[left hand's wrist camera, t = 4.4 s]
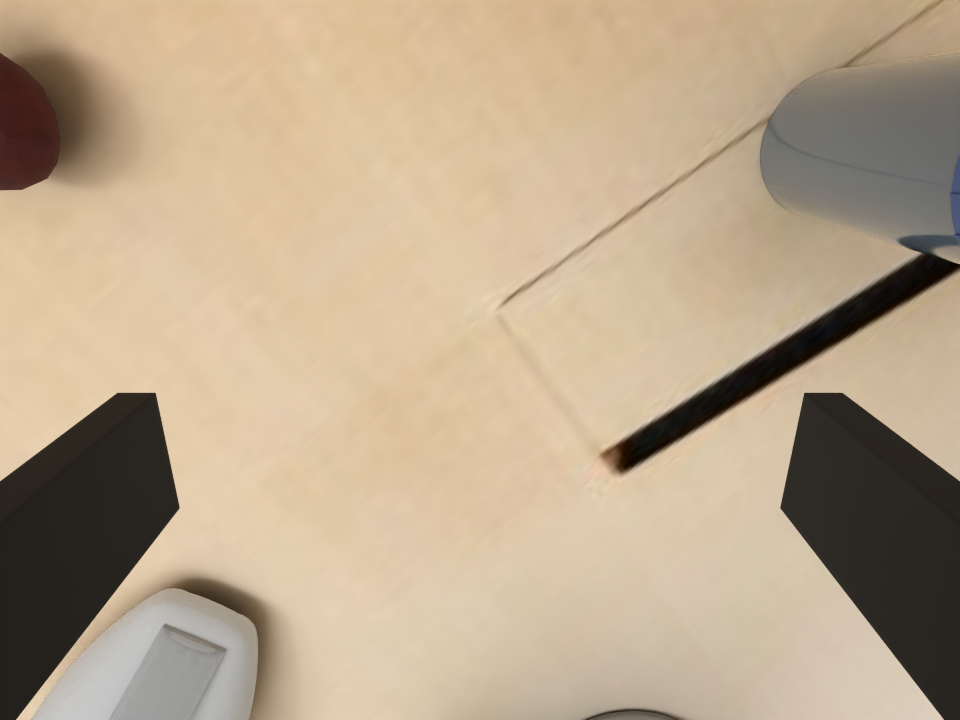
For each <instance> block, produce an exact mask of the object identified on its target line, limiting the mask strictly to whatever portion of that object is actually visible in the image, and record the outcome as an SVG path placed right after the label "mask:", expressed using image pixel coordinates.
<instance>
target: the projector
mask: <svg viewBox="0 0 960 720" xmlns="http://www.w3.org/2000/svg"><path fill="white" fill-rule="evenodd" d="M257 666H258V637H257V631H256V628H255V626H254V624H253V623H252V621H251V620H249V619H248V618H247V617H245V616H244V615H241V614H238V613H237V612H235V611H233V610H231V609H229V608H227V607H225V606H223V605H221V604H218V603H216V602H214V601H211V600H209V599H206V598H204V597H201V596H199V595H195V594H192V593H189V592H187V591H185V590H182V589H177V588H168V589H164V590H162V591H159V592H157V593H155V594H153V595H152V596H150V597H149V598H147V599H145V600H144V601H142V602H141V603H139V604H138V605H137V606H135V607H134V608H133V609H131V610H130V611H129V612H127V613H126V614H125V615H123V616H122V617H121V618H119V619H118V620H117V621H116V622H115V623H114V624H112V625H111V626H110V627H109V628H108V629H107V630H105V631H104V632H103V633H102V634H101V635H100V636H99V637H98V638H97V639H96V640H95V641H94V642H92V643H91V644H90V645H89V646H88V648H87V649H86V650H85V651H84V652H83V653H82V654H81V655H80V656H79V657H78V658H77V659H76V660H75V661H74V662H73V664H72V665H71V666H70V667H69V668H68V669H67V671H66V672H65V673H64V674H63V675H62V677H61V678H60V679H59V680H58V682H57V683H56V684H55V686H54V687H53V688H52V690H51V691H50V692H49V694H48V695H47V696H46V698H45V699H44V701H43V702H42V704H41V705H40V706H39V708H38V709H37V711H36V712H35V714H34V716H33V717H32V719H31V720H249V718H250V714H251V710H252V705H253V699H254V694H255V686H256V678H257Z"/></svg>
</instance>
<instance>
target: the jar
mask: <svg viewBox="0 0 960 720" xmlns="http://www.w3.org/2000/svg"><path fill="white" fill-rule="evenodd" d="M959 153H960V51H955V52H948V53H942V54H935V55H928V56H921V57H914V58H907V59H900V60H893V61H886V62H879V63H872V64H865V65H858V66H851V67H844V68H837V69H832V70H828V71H824V72H822V73H819V74H817V75H815V76H813V77H811V78H809V79H807V80H805V81H804V82H803V83H801V84H800V85H798V86H797V87H796V88H795V89H793V90H792V91H791V92H790V93H789V94H788V95H787V96H786V97H785V98H784V100H783V101H782V102H781V103H780V104H779V106H778V107H777V109H776V110H775V111H774V113H773V115H772V117H771V119H770V120H769V122H768V125H767V127H766V130H765V132H764V136H763V139H762V145H761V151H760V165H761V172H762V176H763V180H764V182H765V185H766V187H767V189H768V191H769V193H770V194H771V196H772V197H773V198H774V199H775V201H776V202H777V203H778V204H779V205H781V206H782V207H783V208H785V209H786V210H788V211H789V212H791V213H793V214H796V215H798V216H802V217H805V218H808V219H812V220H815V221H818V222H822V223H825V224H828V225H832V226H835V227H838V228H842V229H845V230H848V231H852V232H855V233H858V234H862V235H865V236H868V237H871V238H875V239H878V240H881V241H885V242H888V243H891V244H895V245H898V246H901V247H905V248H908V249H911V250H915V251H918V252H921V253H925V254H928V255H931V256H935V257H938V258H941V259H945V260H948V261H951V262H955V263H958V264H960V245H959V243H958V241H957V238H955V237H954V235H955V231H954V228H953V223H952V215H951V204H950V202H951V196H949V194H950V193H951V188H952V181H953V174H954V170H955V167H956V163H957V160H958V156H959Z"/></svg>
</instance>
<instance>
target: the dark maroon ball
mask: <svg viewBox="0 0 960 720" xmlns="http://www.w3.org/2000/svg"><path fill="white" fill-rule="evenodd" d="M59 148H60V137H59V132H58V126H57V121H56V115H55V112H54V110H53V108H52V106H51V104H50V102H49V100H48V98H47V96H46V94H45V92H44V90H43V88H42V86H41V85H40V84H39V83H38V82H37V81H36V80H35V79H34V78H33V77H32V76H31V75H30V74H29V73H28V72H27V71H26V70H25V69H23V68H22V67H20V66H19V65H17V64H16V63H14V62H13V61H11V60H10V59H8V58H7V57H5V56H4V55H2V54H1V53H0V190H22V189H25V188H27V187H29V186H32V185H34V184H36V183H38V182H41V181H43V180H45V179H47V178H48V177H49V175H50V173H51V172H52V170H53V169H54V167H55V166H56V164H57V161H58V155H59Z"/></svg>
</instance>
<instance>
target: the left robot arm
mask: <svg viewBox="0 0 960 720" xmlns="http://www.w3.org/2000/svg"><path fill="white" fill-rule="evenodd" d="M179 508H180V507H179V503H178V498H177V493H176V488H175V484H174V479H173V474H172V469H171V464H170V460H169V455H168V450H167V445H166V440H165V436H164V431H163V426H162V421H161V417H160V412H159V407H158V402H157V397H156V393H117V394H116V395H114V396H113V397H112V398H110V399H109V400H108V401H106V402H105V403H104V404H102V405H101V406H100V407H98V408H97V409H96V410H94V411H93V412H92V413H90V414H89V415H88V416H86V417H85V418H84V419H82V420H81V421H80V422H78V423H77V424H76V425H74V426H73V427H72V428H70V429H69V430H68V431H66V432H65V433H64V434H63V435H61V436H60V437H59V438H57V439H56V440H55V441H53V442H52V443H51V444H49V445H48V446H47V447H45V448H44V449H43V450H41V451H40V452H39V453H37V454H36V455H35V456H33V457H32V458H31V459H29V460H28V461H27V462H25V463H24V464H23V465H21V466H20V467H19V468H17V469H16V470H15V471H13V472H12V473H11V474H9V475H8V476H7V477H5V478H4V479H3V480H1V481H0V720H16V719H17V718H18V716H19V715H20V714H21V712H22V711H23V710H24V709H25V707H26V706H27V705H28V703H29V702H30V701H31V700H32V698H33V697H34V696H35V694H36V693H37V692H38V690H39V689H40V688H41V687H42V685H43V684H44V683H45V681H46V680H47V679H48V678H49V676H50V675H51V674H52V672H53V671H54V670H55V668H56V667H57V666H58V665H59V663H60V662H61V661H62V659H63V658H64V657H65V656H66V654H67V653H68V652H69V650H70V649H71V648H72V647H73V645H74V644H75V643H76V641H77V640H78V639H79V637H80V636H81V635H82V634H83V632H84V631H85V630H86V628H87V627H88V626H89V625H90V623H91V622H92V621H93V619H94V618H95V617H96V616H97V614H98V613H99V612H100V610H101V609H102V608H103V606H104V605H105V604H106V603H107V601H108V600H109V599H110V597H111V596H112V595H113V594H114V592H115V591H116V590H117V588H118V587H119V586H120V584H121V583H122V582H123V581H124V579H125V578H126V577H127V575H128V574H129V573H130V572H131V570H132V569H133V568H134V566H135V565H136V564H137V563H138V561H139V560H140V559H141V557H142V556H143V555H144V553H145V552H146V551H147V550H148V548H149V547H150V546H151V544H152V543H153V542H154V541H155V539H156V538H157V537H158V535H159V534H160V533H161V531H162V530H163V529H164V528H165V526H166V525H167V524H168V522H169V521H170V520H171V519H172V517H173V516H174V515H175V513H176V512H177V511H178V510H179ZM780 508H781V510H782V511H783V512H784V513H785V515H786V516H787V517H788V519H789V520H790V521H791V522H792V524H793V525H794V526H795V528H796V529H797V530H798V531H799V533H800V534H801V535H802V537H803V538H804V539H805V541H806V542H807V543H808V544H809V546H810V547H811V548H812V550H813V551H814V552H815V553H816V555H817V556H818V557H819V559H820V560H821V561H822V563H823V564H824V565H825V566H826V568H827V569H828V570H829V572H830V573H831V574H832V575H833V577H834V578H835V579H836V581H837V582H838V583H839V584H840V586H841V587H842V588H843V590H844V591H845V592H846V594H847V595H848V596H849V597H850V599H851V600H852V601H853V603H854V604H855V605H856V606H857V608H858V609H859V610H860V612H861V613H862V614H863V616H864V617H865V618H866V619H867V621H868V622H869V623H870V625H871V626H872V627H873V628H874V630H875V631H876V632H877V634H878V635H879V636H880V637H881V639H882V640H883V641H884V643H885V644H886V645H887V647H888V648H889V649H890V650H891V652H892V653H893V654H894V656H895V657H896V658H897V659H898V661H899V662H900V663H901V665H902V666H903V667H904V668H905V670H906V671H907V672H908V674H909V675H910V676H911V678H912V679H913V680H914V681H915V683H916V684H917V685H918V687H919V688H920V689H921V690H922V692H923V693H924V694H925V696H926V697H927V698H928V700H929V701H930V702H931V703H932V705H933V706H934V707H935V709H936V710H937V711H938V712H939V714H940V715H941V716H942V718H943V719H944V720H960V481H959V480H957V479H956V478H955V477H953V476H952V475H951V474H949V473H948V472H947V471H945V470H944V469H943V468H941V467H940V466H939V465H937V464H936V463H935V462H933V461H932V460H931V459H929V458H928V457H927V456H925V455H924V454H923V453H921V452H920V451H919V450H917V449H916V448H915V447H913V446H912V445H911V444H909V443H908V442H907V441H905V440H904V439H903V438H901V437H900V436H899V435H897V434H896V433H895V432H894V431H892V430H891V429H890V428H888V427H887V426H886V425H884V424H883V423H882V422H880V421H879V420H878V419H876V418H875V417H874V416H872V415H871V414H870V413H868V412H867V411H866V410H864V409H863V408H862V407H860V406H859V405H858V404H856V403H855V402H854V401H852V400H851V399H850V398H848V397H847V396H846V395H844V394H843V393H804V397H803V402H802V407H801V412H800V417H799V421H798V426H797V431H796V436H795V440H794V445H793V450H792V455H791V460H790V464H789V469H788V474H787V479H786V484H785V488H784V493H783V498H782V503H781V507H780ZM589 720H675V719H673V718H670V717H668V716H665V715H661V714H657V713H651V712H643V711H623V712H615V713H609V714H605V715H601V716H597V717H594V718H591V719H589Z"/></svg>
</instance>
